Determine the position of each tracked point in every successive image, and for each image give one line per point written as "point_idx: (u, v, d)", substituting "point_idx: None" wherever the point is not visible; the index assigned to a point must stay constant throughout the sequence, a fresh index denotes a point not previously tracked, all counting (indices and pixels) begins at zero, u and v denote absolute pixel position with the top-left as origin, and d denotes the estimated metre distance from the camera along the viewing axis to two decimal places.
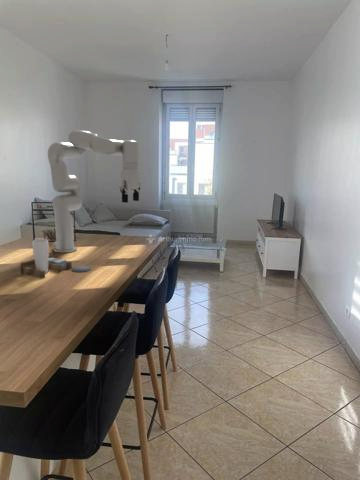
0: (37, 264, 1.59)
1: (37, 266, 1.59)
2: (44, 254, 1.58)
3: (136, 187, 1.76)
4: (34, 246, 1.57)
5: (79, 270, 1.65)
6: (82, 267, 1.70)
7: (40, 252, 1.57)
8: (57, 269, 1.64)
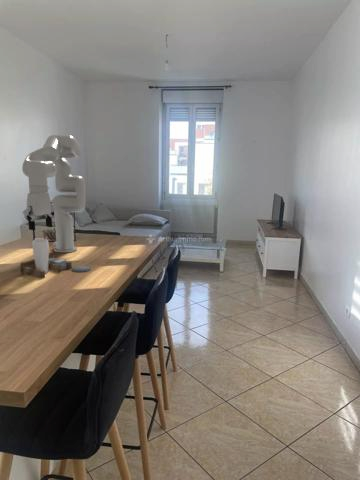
0: (37, 264, 1.59)
1: (37, 266, 1.59)
2: (44, 254, 1.58)
3: (47, 212, 1.58)
4: (34, 246, 1.57)
5: (79, 270, 1.65)
6: (82, 267, 1.70)
7: (40, 252, 1.57)
8: (57, 269, 1.64)
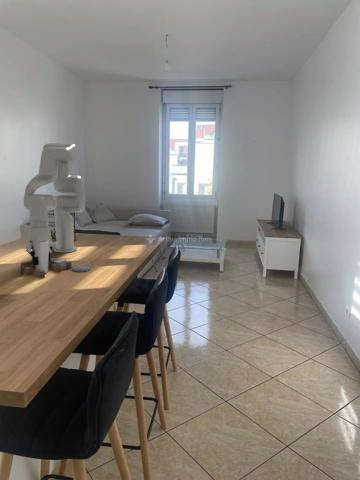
0: None
1: (37, 266, 1.59)
2: (44, 254, 1.58)
3: None
4: None
5: (79, 270, 1.65)
6: (82, 267, 1.70)
7: (40, 252, 1.57)
8: (57, 269, 1.64)
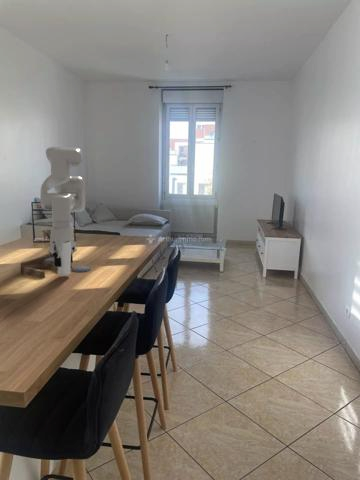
0: None
1: (59, 268, 1.53)
2: (67, 255, 1.52)
3: None
4: None
5: (79, 270, 1.65)
6: (82, 267, 1.70)
7: (63, 253, 1.51)
8: (57, 269, 1.64)
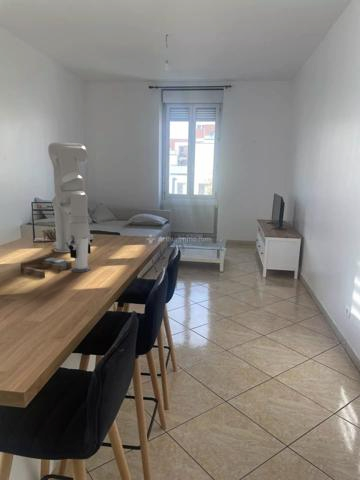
0: (77, 260, 1.65)
1: (77, 262, 1.65)
2: (84, 251, 1.64)
3: None
4: None
5: (79, 270, 1.65)
6: None
7: (81, 249, 1.63)
8: (57, 269, 1.64)
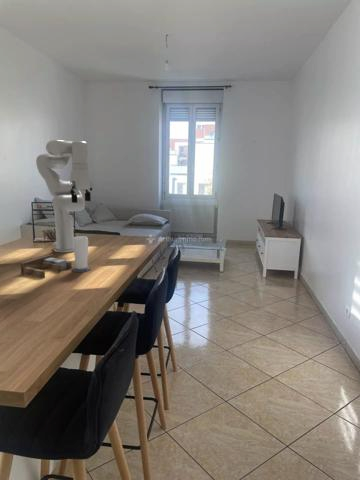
0: (77, 260, 1.65)
1: (77, 262, 1.65)
2: (84, 251, 1.64)
3: (87, 187, 1.78)
4: (75, 243, 1.63)
5: (79, 270, 1.65)
6: None
7: (81, 249, 1.63)
8: (57, 269, 1.64)
